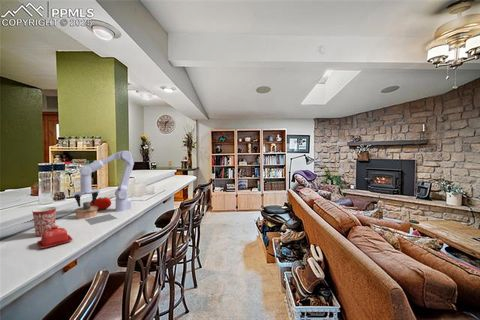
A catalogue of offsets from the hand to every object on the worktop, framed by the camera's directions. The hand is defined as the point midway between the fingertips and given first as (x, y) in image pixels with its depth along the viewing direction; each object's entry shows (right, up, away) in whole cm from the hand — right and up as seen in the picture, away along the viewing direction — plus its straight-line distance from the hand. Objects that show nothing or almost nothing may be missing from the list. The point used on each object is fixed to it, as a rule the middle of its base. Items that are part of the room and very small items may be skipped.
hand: (86, 205), depth 133 cm
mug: (-2, -9, -25) cm, 27 cm away
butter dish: (+13, -10, -37) cm, 40 cm away
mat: (+13, -8, -5) cm, 17 cm away
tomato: (-3, -7, +18) cm, 19 cm away
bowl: (0, -8, 0) cm, 8 cm away
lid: (0, -4, 0) cm, 4 cm away
